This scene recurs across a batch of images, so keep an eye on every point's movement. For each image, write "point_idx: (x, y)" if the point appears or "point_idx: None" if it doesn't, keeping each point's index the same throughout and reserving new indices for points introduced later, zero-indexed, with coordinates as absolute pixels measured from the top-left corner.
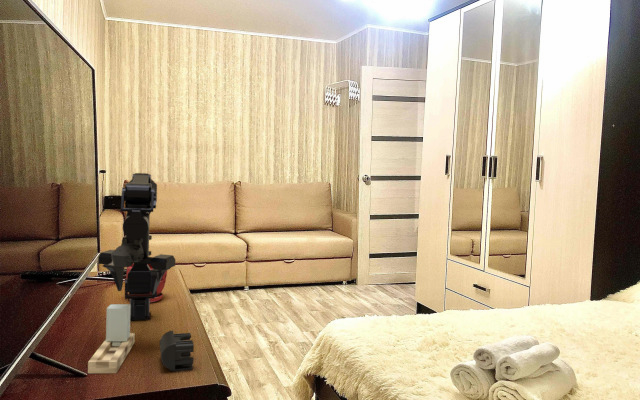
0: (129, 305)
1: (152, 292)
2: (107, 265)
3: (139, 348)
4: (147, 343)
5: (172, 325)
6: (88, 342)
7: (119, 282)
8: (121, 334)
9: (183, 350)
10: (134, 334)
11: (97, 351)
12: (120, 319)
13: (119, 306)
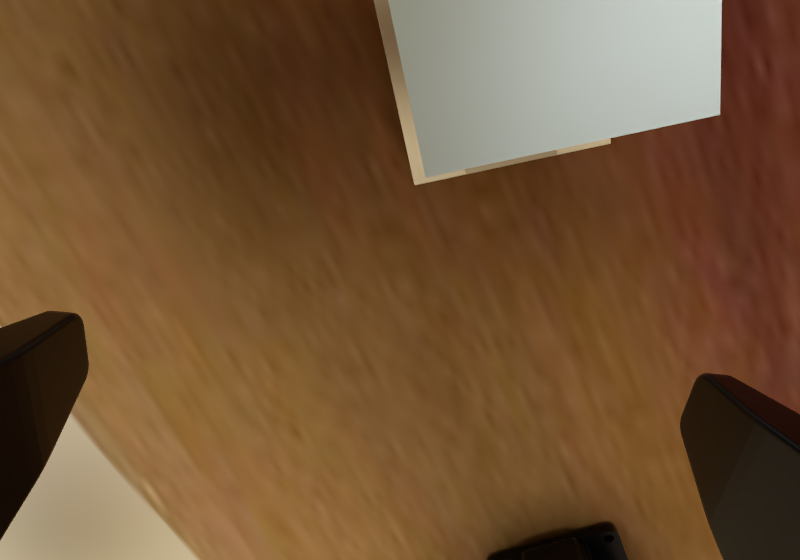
0: (415, 115)
1: (21, 322)
2: None
3: (324, 53)
4: (317, 172)
5: (319, 503)
6: (756, 105)
7: (789, 494)
8: None
9: None
10: (412, 175)
11: None
12: None
13: (545, 17)
